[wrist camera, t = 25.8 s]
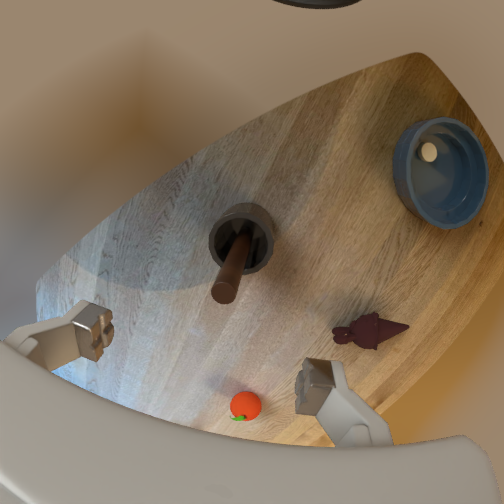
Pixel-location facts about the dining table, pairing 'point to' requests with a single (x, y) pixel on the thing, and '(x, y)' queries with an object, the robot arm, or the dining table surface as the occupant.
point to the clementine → (245, 406)
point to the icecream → (368, 331)
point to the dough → (427, 151)
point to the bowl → (441, 172)
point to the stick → (232, 268)
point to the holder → (230, 227)
